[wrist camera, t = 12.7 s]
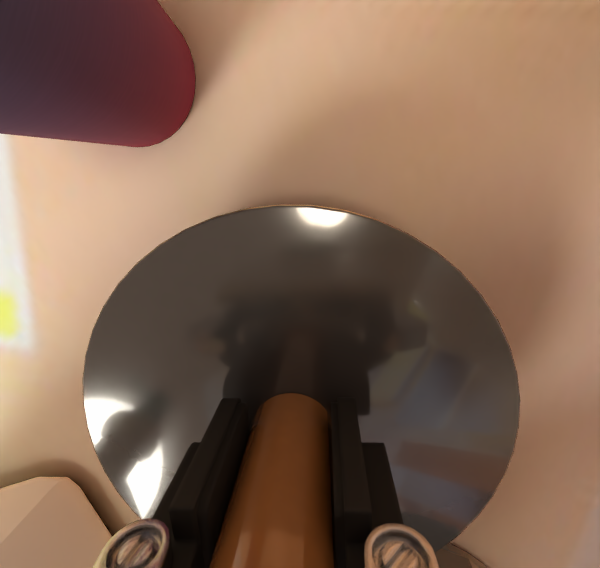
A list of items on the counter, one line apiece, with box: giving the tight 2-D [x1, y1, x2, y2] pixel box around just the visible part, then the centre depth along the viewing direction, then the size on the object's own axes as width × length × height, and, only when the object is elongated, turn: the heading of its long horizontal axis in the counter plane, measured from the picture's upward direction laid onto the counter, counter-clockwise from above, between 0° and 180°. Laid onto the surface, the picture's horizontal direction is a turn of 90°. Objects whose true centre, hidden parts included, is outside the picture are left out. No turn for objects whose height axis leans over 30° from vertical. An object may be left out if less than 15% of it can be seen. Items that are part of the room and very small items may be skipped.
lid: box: [83, 204, 520, 568], centre depth 9 cm, size 14×14×7 cm
